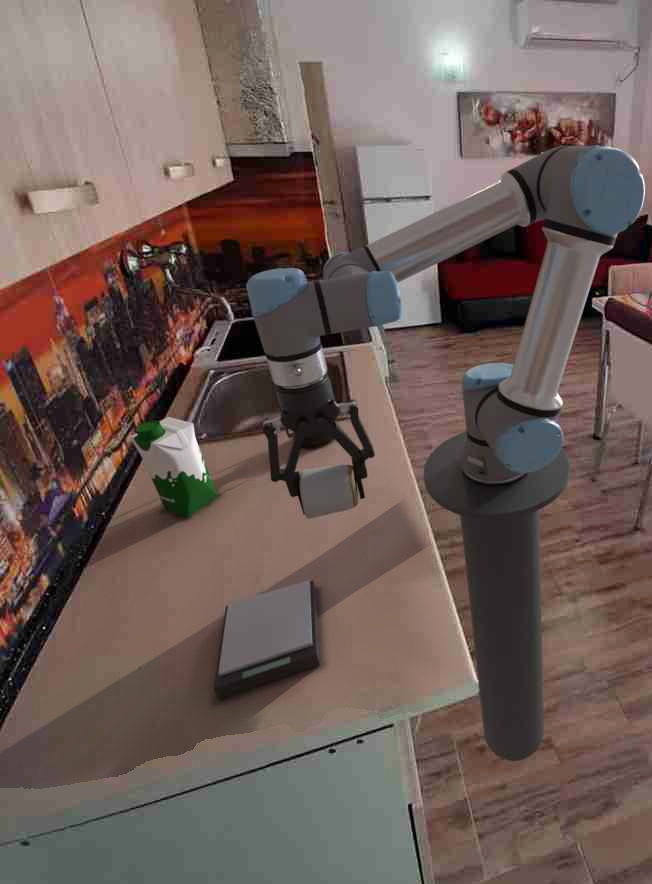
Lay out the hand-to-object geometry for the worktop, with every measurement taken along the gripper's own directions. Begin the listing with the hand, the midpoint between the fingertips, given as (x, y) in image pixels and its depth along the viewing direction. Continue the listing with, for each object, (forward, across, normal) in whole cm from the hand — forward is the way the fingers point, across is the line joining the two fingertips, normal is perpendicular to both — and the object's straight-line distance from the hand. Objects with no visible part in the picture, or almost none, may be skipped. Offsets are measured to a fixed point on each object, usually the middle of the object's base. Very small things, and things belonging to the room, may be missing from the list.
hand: (334, 501), depth 84 cm
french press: (+13, -4, +44) cm, 46 cm away
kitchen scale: (+13, -12, -12) cm, 21 cm away
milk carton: (+13, -29, +29) cm, 43 cm away
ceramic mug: (0, 0, 0) cm, 1 cm away
